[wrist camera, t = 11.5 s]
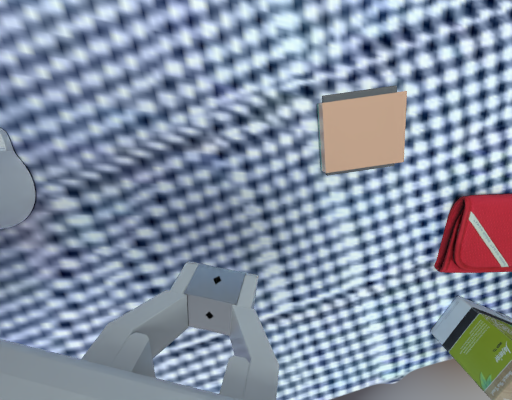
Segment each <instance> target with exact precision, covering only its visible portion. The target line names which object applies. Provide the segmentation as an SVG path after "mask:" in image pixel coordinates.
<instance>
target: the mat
mask: <svg viewBox="0 0 512 400" xmlns="http://www.w3.org/2000/svg"><path fill="white" fill-rule="evenodd" d="M389 93H397V86H390V87H383V88H375V89H368V90H361V91H354V92H347V93H340V94H332V95H325V96H322V103H326V102H333V101H340V100H347V99H354V98H361V97H368V96H375V95H382V94H389ZM388 166H394V163H392V164H385V165H378V166H371V167H365V168H358V169H351V170H344V171H337V172H331V173H326V175H333V174H340V173H347V172H354V171H361V170H368V169H375V168H381V167H388Z"/></svg>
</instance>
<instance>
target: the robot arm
mask: <svg viewBox="0 0 512 400" xmlns="http://www.w3.org/2000/svg"><path fill="white" fill-rule="evenodd" d="M34 203H35V187H34V183H33V180H32V177H31V175H30V173H29V171H28V170H27V168H26V166H25V165H24V164H23V162H22V161H21V160H20V159H19V158H18V156H17V155H16V154H15V152H14V150H13V147H12V145H11V142H10V139H9V137H8V135H7V133H6V132H5V131H4V130H3V129H1V128H0V229H5V228H9V227H13V226H15V225H17V224H19V223H21V222H22V221H24V220H25V219H26V218H27V217H28V215H29V214H30V213H31V211H32V209H33V206H34ZM257 283H258V275H254V274H249V273H244V272H239V271H234V270H228V269H222V268H218V267H213V266H209V265H205V264H199V263H195V262H191V261H188V262H187V263H186V264H185V265H184V267H183V269H182V270H181V272H180V274H179V276H178V277H177V279H176V281H175V282H174V284H173V286H172V287H171V289H170V291H167V290H165V291H164V292H162V293H160V294H159V295H157V296H155V297H153V298H152V299H150V300H148V301H147V302H145V303H143V304H141V305H140V306H138V307H136V308H135V309H133V310H131V311H129V312H128V313H126V314H124V315H123V316H121V317H119V318H117V319H116V320H114V321H112V322H111V323H109V324H107V326H106V327H105V328H104V330H103V331H102V332H101V334H100V335H99V336H98V338H97V339H96V340H95V342H94V343H93V344H92V346H91V347H90V348H89V350H88V351H87V352H86V354H85V355H84V356H83V358H82V359H78V358H74V357H70V356H66V355H62V354H58V353H54V352H50V351H46V350H42V349H38V348H34V347H30V346H26V345H22V344H18V343H14V342H10V341H6V340H2V339H0V400H276V395H277V384H278V373H279V364H278V361H277V359H276V357H275V355H274V352H273V350H272V348H271V345H270V343H269V341H268V339H267V336H266V334H265V332H264V329H263V327H262V325H261V323H260V320H259V318H258V316H257V313H256V311H255V309H254V303H255V297H256V290H257ZM188 326H189V327H194V328H199V329H204V330H209V331H213V332H217V333H221V334H225V335H229V336H230V340H231V343H232V347H233V351H234V355H235V356H232V357H231V358H229V361H228V364H227V368H226V372H225V375H224V379H223V383H222V386H221V390H220V393H219V394H217V393H213V392H209V391H205V390H201V389H197V388H193V387H189V386H185V385H181V384H177V383H173V382H169V381H165V380H161V379H157V378H155V372H154V366H153V360H152V359H153V358H154V357H155V356H156V355H158V354H159V353H160V352H161V351H162V350H163V349H164V348H166V347H167V346H168V345H169V344H170V343H171V342H172V341H174V340H175V339H176V338H177V337H178V336H179V335H180V334H182V333H183V332H184V331H185V330H186V329H187V328H188Z"/></svg>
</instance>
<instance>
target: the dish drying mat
mask: <svg viewBox="0 0 512 400" xmlns="http://www.w3.org/2000/svg"><path fill="white" fill-rule="evenodd" d="M434 266H435V268H436V269H437V270H438V271H439V272H449V273H480V272H512V194H493V195H470V196H463V197H461V198H459V199H458V200H457V201H456V203H455V204H454V205H453V207H452V209H451V211H450V213H449V216H448V219H447V223H446V226H445V230H444V234H443V238H442V242H441V246H440V249H439V253H438V257H437V261H436V263H435V265H434Z"/></svg>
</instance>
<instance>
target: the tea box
mask: <svg viewBox="0 0 512 400" xmlns="http://www.w3.org/2000/svg"><path fill="white" fill-rule="evenodd" d="M430 332H431V333H432V334H433V335H434V337H435V338H436V339H437V340H438V341H439V342H440V343H441V344H442V346H444V348H445V349H446V350H447V351H448V352H449V353H450V354H451V356H452V357H453V358H454V359H455V360H456V361H457V362H458V363H459V364H460V365H461V367H462V368H463V369H464V370H465V371H466V372H467V373H468V374H469V375H470V376H471V377H472V379H473V380H474V381H475V382H476V383H477V384H478V386H479V387H480V388H481V389H482V390H483V391H484V392H485V393H486V394H487V395H488V396H489V397H490V399H491V400H512V318H510V317H508V316H506V315H504V314H501V313H499V312H496V311H494V310H492V309H489V308H487V307H484V306H482V305H480V304H477V303H474V302H472V301H470V300H467V299H465V298H462V297H460V296H457V297H456V298H455V299H454V300H453V302H452V303H451V304H450V306H449V307H448V308H447V309H446V311H445V312H444V313H443V315H442V316H441V317H440V319H439V320H438V321H437V322H436V324H435V325H434V327H433V328H432V329H431V331H430Z"/></svg>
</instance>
